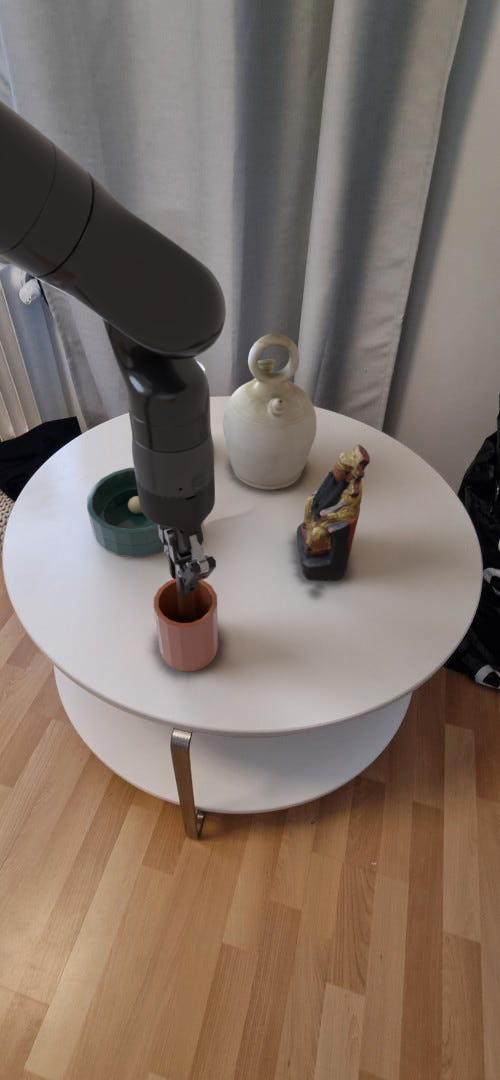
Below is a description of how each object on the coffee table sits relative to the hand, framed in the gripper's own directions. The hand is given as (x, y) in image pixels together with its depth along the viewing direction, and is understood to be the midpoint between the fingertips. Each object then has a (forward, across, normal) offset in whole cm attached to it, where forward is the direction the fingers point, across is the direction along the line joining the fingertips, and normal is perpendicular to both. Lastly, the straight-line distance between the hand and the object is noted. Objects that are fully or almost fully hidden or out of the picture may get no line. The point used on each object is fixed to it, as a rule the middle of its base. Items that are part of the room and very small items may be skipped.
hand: (184, 582), depth 68 cm
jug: (+14, -28, +27) cm, 41 cm away
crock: (+14, 0, 0) cm, 14 cm away
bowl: (+14, -24, +2) cm, 28 cm away
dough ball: (+11, -26, +2) cm, 29 cm away
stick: (+13, 0, 0) cm, 13 cm away
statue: (+14, -5, +24) cm, 28 cm away
